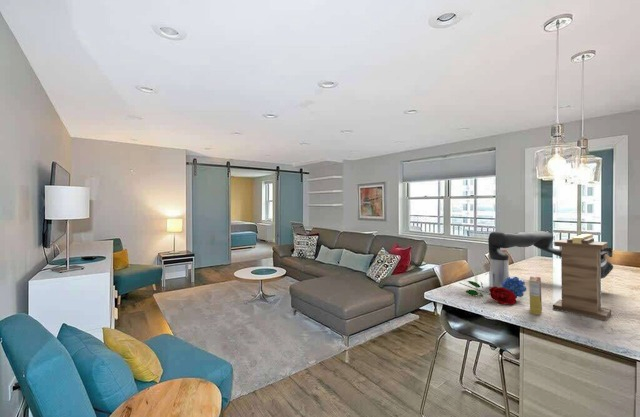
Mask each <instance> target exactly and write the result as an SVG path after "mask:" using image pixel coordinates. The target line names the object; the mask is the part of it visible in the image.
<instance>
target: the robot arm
mask: <svg viewBox="0 0 640 417" xmlns="http://www.w3.org/2000/svg"><path fill="white" fill-rule="evenodd" d="M487 239H488V242H487V243H488V253H489V258H490V263H489V264H490V265H489V266H490V267H489V271H488V274H489V276H488V283H489V284H488V286H489V287H490V288H492V287H495V286H496V287H497V288H500V287H503V286H502V285H501V283H502V282H503V281H506V278H507V277H510V274H509V272H510V268H509V263H510V262H509V255H508V254H507V253H505V252H503V251H502V249H509V248H514V247H517V248H528V247H531V246H534V247H535V248H537V249H540V250H542V251H545V252H547V253H550V254H552V255H555V256H558V257H560V258H561V249H559V248H558V249H557V248H553V247H551V246H550V245H551V244H552V242H553V240H554V235H553V234H552V233H550V232H549V231H544V230H537V231H527V232H526V231H519V232H515V233H509V232H502V231H501V232H500V231H491V232H490V233H489V235H488V238H487ZM613 252H614V251H613V248H612V247H607V248H605V249H603V250H601V280H602V279H605V278H606V277H608V275H609V274H610V273H611V271H613V269H614V265H613V264H612V263H611V262H609V261H608V259H607V256H608V257H609V258H613V254H614V253H613Z"/></svg>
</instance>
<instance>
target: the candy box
mask: <svg viewBox="0 0 640 417" xmlns="http://www.w3.org/2000/svg"><path fill="white" fill-rule="evenodd" d="M528 287H529V313H530V314H532V315H537V316H538V315H539V316H541V315H542V310H543V306H542V303H543V302H542V300H543V299H542V278H541V277H540V276H530V277H529V280H528Z"/></svg>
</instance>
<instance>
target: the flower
mask: <svg viewBox="0 0 640 417" xmlns="http://www.w3.org/2000/svg"><path fill="white" fill-rule="evenodd" d="M467 282H468V283H469V284H470V285H471V286H474V287H476V288H474V287H471V286H469V285H467V284H465V283H464V284H463V283H462V282H459V284H460V285H463V286H465V287H467V288H468V287H469V288H471V289H466V290H465V292H466V293H467V294H468V295H471V296H473V295H477V296H476V297H478V296H479V295H480V296H482V297H484V295H483V293H486V294H487V295H488V296H489V297H490V298H491V299H492V300H494V301H496V302H497V303H498V304H500V305H509V306H512V305H514V304H516V303H517V302H518V301H517V298H516V296H515V294H514V293H513V292H511V291H510V290H507V289H505V288H503V287H500V288H497V287H496V286H495V287H492V288H491V287H490V288H488V292H487V291H484V290H480V289H478V288H482V289H483V288H484V284H483V283H482V281H480V284H479V283H477V282H475V281H471V280H467Z"/></svg>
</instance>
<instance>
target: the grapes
mask: <svg viewBox="0 0 640 417" xmlns="http://www.w3.org/2000/svg"><path fill="white" fill-rule="evenodd" d="M501 285H502V286H503V288H505V289H507V290H510V291H511V292H513V293H514V294H515V296H516V299H517V298H522V297H523V296H524V293H525V292H526V291H527V287H526V286H525V281H524V280H522V279H520V278H519V276H513V277H510V276H509V277H507V278H506V281H503V282H502V283H501Z"/></svg>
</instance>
